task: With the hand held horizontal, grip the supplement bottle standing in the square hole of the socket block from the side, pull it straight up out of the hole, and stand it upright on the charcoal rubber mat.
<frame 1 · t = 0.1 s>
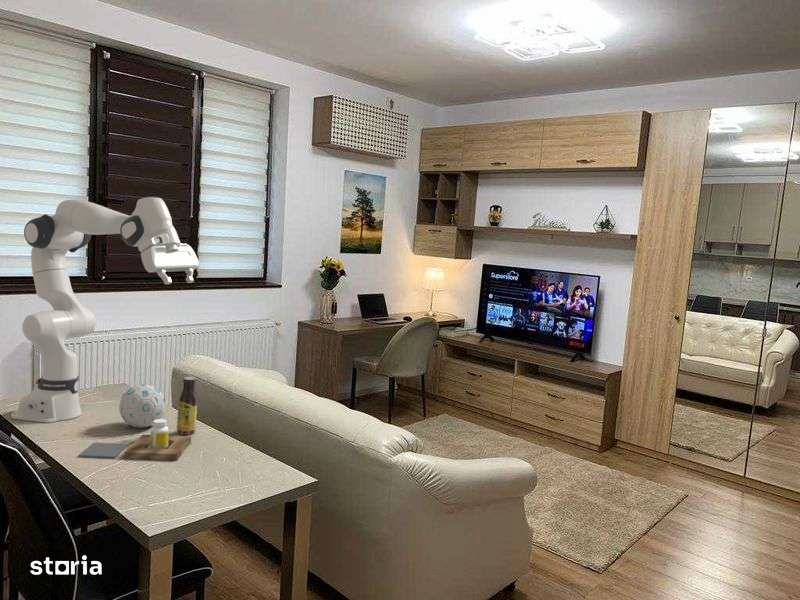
hand: (179, 283, 194), 54 cm above the table, tool tilted 30°, fingers open, 8 cm apart
sauce bottle: (186, 433, 214), on the table
puzzle ball: (141, 426, 218), on the table
rubber mat: (104, 451, 193), on the table
socket block: (159, 450, 197), on the table
supplement bottle: (159, 450, 197), resting in socket block
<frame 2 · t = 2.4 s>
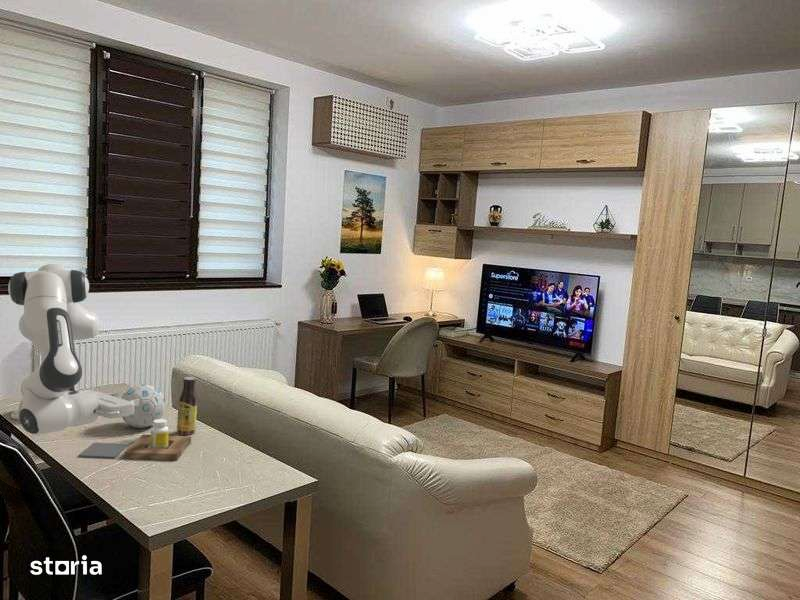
hand: (127, 398, 184), 20 cm above the table, tool horizontal, fingers open, 8 cm apart
nothing on the table moved.
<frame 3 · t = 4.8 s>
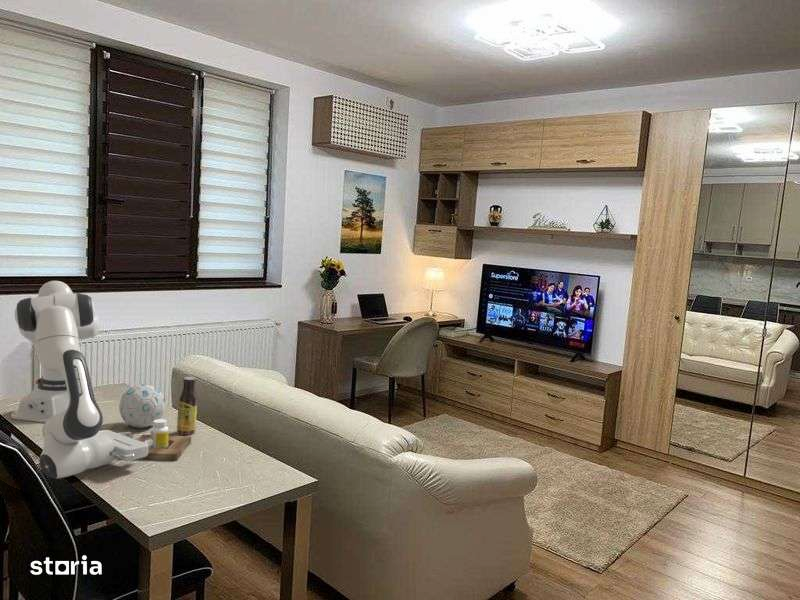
hand: (141, 438, 191), 6 cm above the table, tool horizontal, fingers open, 8 cm apart
nothing on the table moved.
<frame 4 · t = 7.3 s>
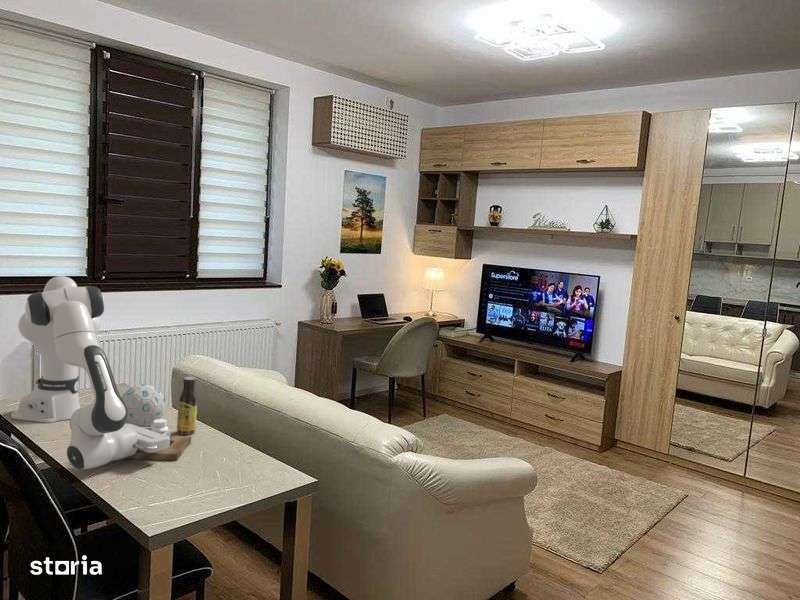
hand: (161, 431, 197), 6 cm above the table, tool horizontal, fingers closed on supplement bottle, 5 cm apart
supplement bottle: (159, 450, 197), resting in socket block, touching gripper
everything else where it was.
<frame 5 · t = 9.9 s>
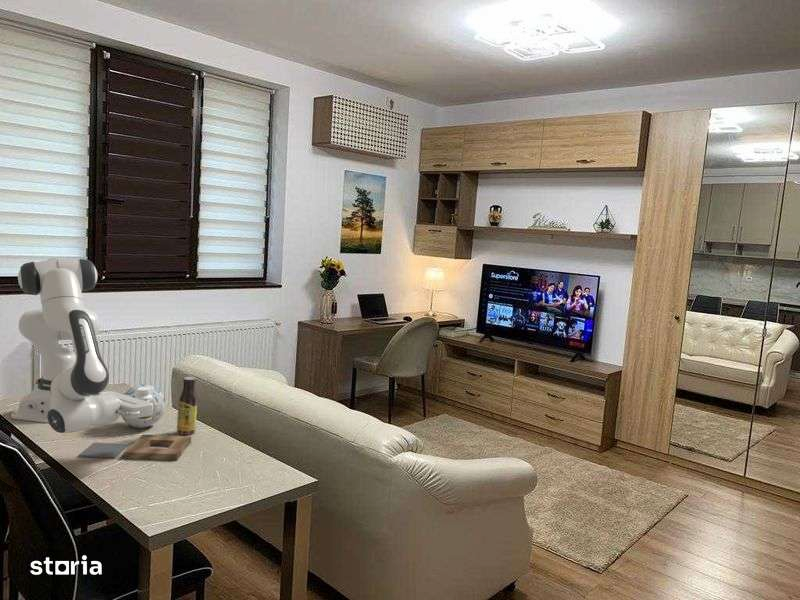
hand: (145, 399, 195), 17 cm above the table, tool horizontal, fingers closed on supplement bottle, 5 cm apart
supplement bottle: (142, 419, 195), point 10 cm above the table, touching gripper
everything else where it was.
when the fingers open (8 cm above the table, at t = 12.7 s): supplement bottle drops 1 cm, resting on rubber mat.
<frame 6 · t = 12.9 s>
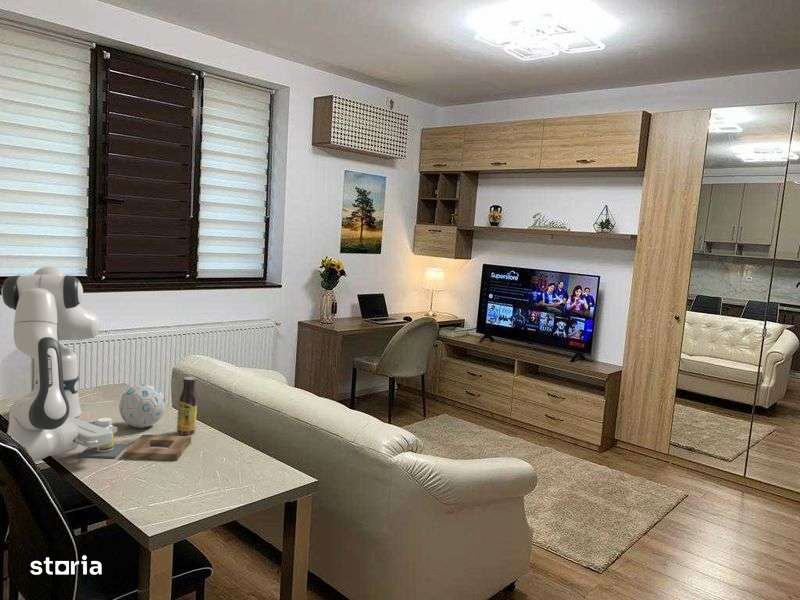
hand: (107, 425, 193), 8 cm above the table, tool horizontal, fingers open, 7 cm apart
supplement bottle: (104, 450, 193), resting on rubber mat
everything else where it was.
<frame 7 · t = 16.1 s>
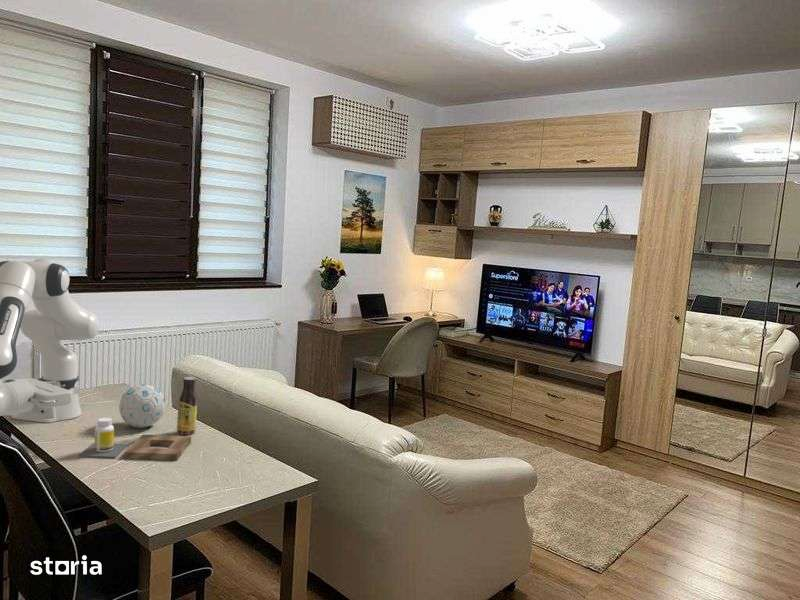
hand: (68, 386, 180), 23 cm above the table, tool horizontal, fingers open, 8 cm apart
nothing on the table moved.
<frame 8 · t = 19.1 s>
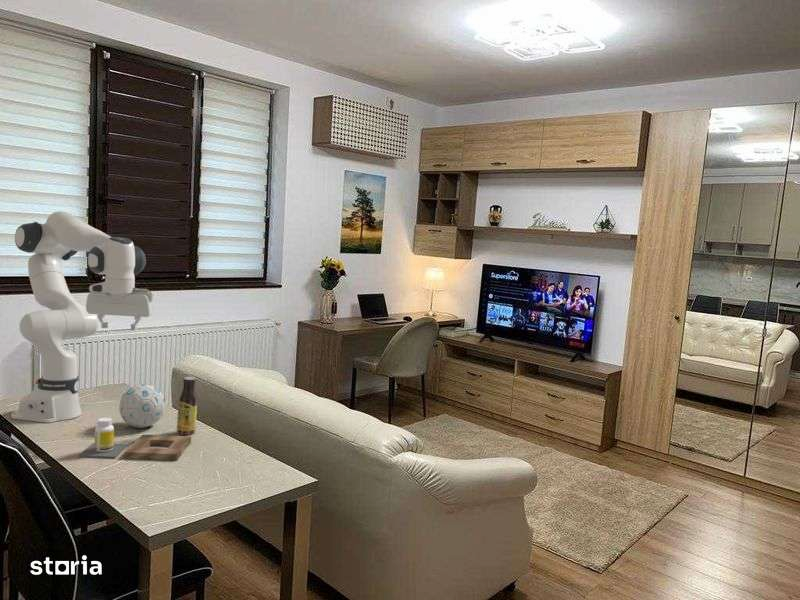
hand: (119, 328, 202), 37 cm above the table, tool pointing down, fingers open, 8 cm apart
nothing on the table moved.
at the end: supplement bottle inside the target area on the rubber mat (0.1 cm from its centre), point 0.4 cm above the rubber mat's base; supplement bottle tilted 0°; the gripper is holding nothing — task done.
